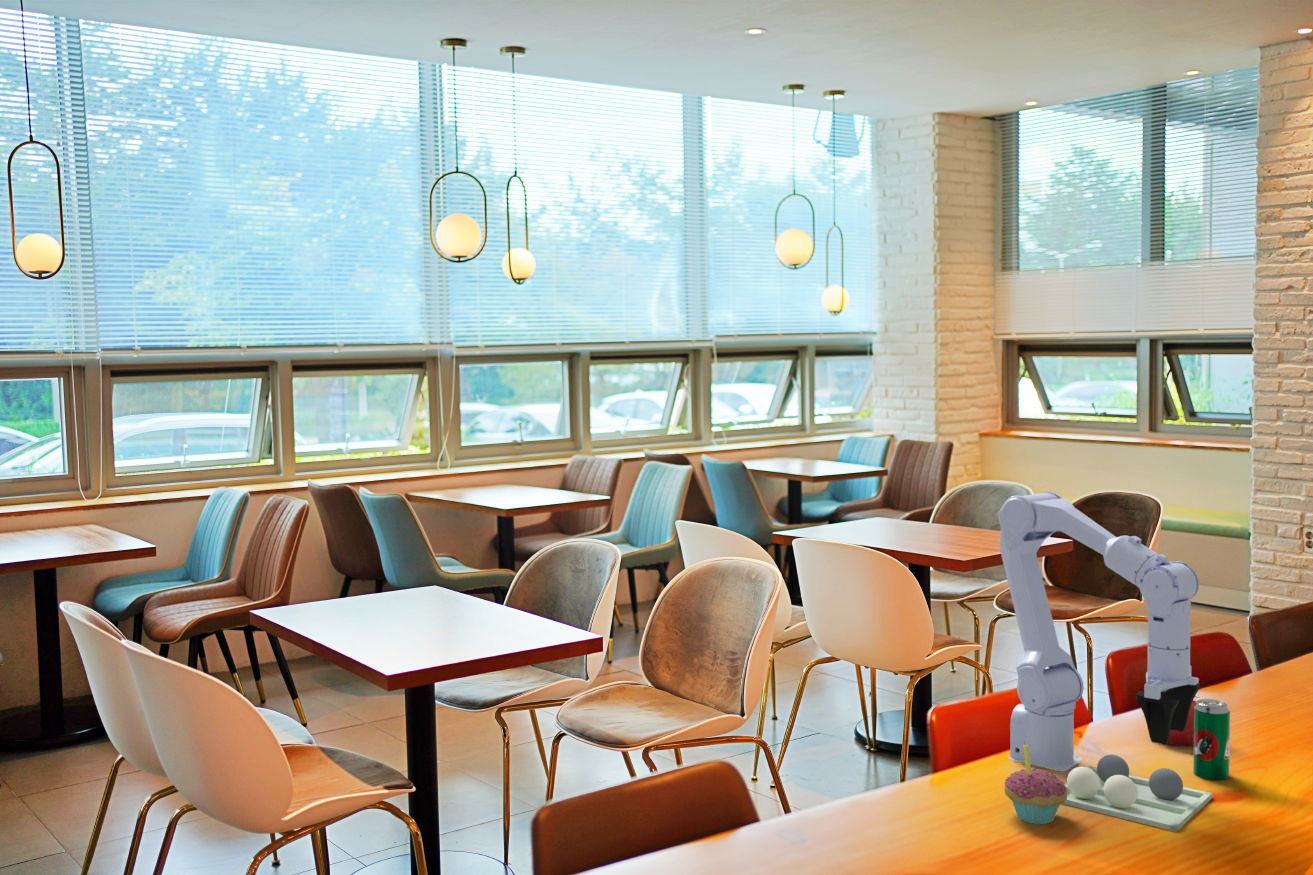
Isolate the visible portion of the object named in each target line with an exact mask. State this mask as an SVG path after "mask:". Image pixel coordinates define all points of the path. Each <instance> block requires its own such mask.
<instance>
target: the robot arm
mask: <svg viewBox="0 0 1313 875" xmlns="http://www.w3.org/2000/svg"><path fill="white" fill-rule="evenodd" d="M996 515H997V518H998V522H999V527H1000V538H999V550H1000V551H999V552H1000V554H1001V560H1002V563H1003V567H1004V571H1005V576H1006V579H1007V580H1006V581H1007V584H1008V587H1009V593H1010V598H1011V600H1012V605H1013V609H1014V613H1015V617H1016V622H1017V626H1018V629H1019V633H1020V638H1021V641H1022V642H1021V643H1022V646H1023V650H1024V653H1023V656H1022V657H1021V659H1020V660H1019V662H1018V663H1017V666H1016V672H1017V685H1016V691H1017V692H1016V693H1017V695H1018V698H1019V700H1020V702H1021V703H1018V704H1017V705H1016V706H1015V707H1014V708H1013V710H1012V714H1011V717H1010V725H1009V730H1010V735H1009V736H1010V740H1009V741H1010V742H1009V743H1010V749H1009V750H1010V752H1009V753H1010V754H1009V757H1008V758H1007V759H1008V760H1010V761H1015V762H1019V763H1024V764H1025V756H1024V748H1023V745H1024V740H1025V742H1026V745H1028V750H1029V758H1030V765H1032V766H1037V767H1041V768H1046V769H1050V770H1054V771H1059V772H1066V771H1068V770H1070V769H1071V768H1072V767H1074V766H1075V765H1077V764H1078V763H1080V762H1081V761H1082V760H1083V759H1084V758H1082V757H1080V756H1075V755H1074V754H1075V753H1074V750H1075V749H1074V748H1075V747H1074V744H1075V743H1074V741H1075V740H1074V738H1075V736H1074V735H1075V734H1074V733H1075V732H1074V730H1075V728H1074V726H1075V724H1074V722H1075V721H1074V720H1075V719H1074V718H1075V716H1074V713H1075V712H1074V711H1075V709H1076V707H1077V706H1076V705H1077V704H1076V702H1078V701H1079V699H1081V697H1082V696H1083V694H1084V681H1083V678H1082V676H1081V674H1080V673H1079V671H1078V670H1077V669H1076V667H1075V664H1074V660H1073V657H1072V656H1071V655H1070V654H1069V653H1068V652H1066V651H1065V650H1064V649H1063V648H1061V647H1060V645H1059V641H1058V636H1057V632H1056V627H1055V625H1054V624H1055V623H1054V620H1053V616H1052V612H1051V608H1050V604H1049V599H1048V595H1047V592H1046V589H1045V583H1044V580H1043V576H1042V572H1041V566H1040V563H1039V560H1038V555H1037V552H1038V551H1039V549H1040V547H1041V546H1042V544H1044V541H1045V540H1046V539H1048V538H1049V537H1050V536H1051V535H1053V534H1054V533H1056V532H1061V533H1063V534H1065V535H1067V536H1069V537H1070V538H1072V539H1074V540H1076V541H1078V542H1079V543H1081V544H1083V545H1084V546H1087V547H1088V548H1090V549H1092V550H1094V551H1095V552H1097V553H1099V554H1101V555H1102V556H1103V563H1104V564H1105V567H1107V568H1108V569H1110V570H1112V571H1113V572H1114V573H1116V574H1118V575H1120V576H1121V577H1123V578H1124V580H1127V582H1130V583H1131V584H1133V585H1134V586H1136V587H1137V588H1139V592H1140V594H1141V596H1142V598H1143V599H1144V600H1145V603H1146V612H1147V671H1146V673H1145V682H1146V683H1144V688H1143V690H1144V691H1141V690H1140V691H1138V692H1136V694H1135V700H1136V702H1137V704H1138V705H1139V707H1140V709H1141V711H1142V713H1143V716H1144V719H1145V723H1146V727H1147V731H1148V735H1149V739H1150V741H1151V743H1155V744H1160V745H1167V744H1168V743H1167V742H1168V739H1169V735H1170V729H1171V730H1177V731H1182V732H1183V731H1184V730H1185V727H1186V724H1187V719H1188V715H1189V711H1190V707H1191V704H1192V702H1193V700H1195V698H1196V697H1195V696H1196V695H1197V693H1198V692H1199V690H1200V688H1201V684H1200V683H1199V681H1200V679H1199V678H1198V677H1195V676H1192V665H1191V624H1192V623H1191V622H1192V621H1191V619H1192V618H1191V617H1192V616H1191V614H1192V613H1191V612H1192V611H1191V610H1192V609H1191V608H1192V605H1191V604H1192V601H1191V600H1192V599H1193V598H1194V597H1195V596H1196V595H1197V593H1198V592H1199V589H1200V588H1199V587H1200V581H1199V577H1198V574H1197V573H1196V571H1195V570H1194V569H1193V568H1192V567H1191V566H1190V565H1189V564H1188V563H1187V562H1185V561H1180V560H1179V561H1177V560H1176V561H1169V559H1168V558H1169V557H1168V556H1166V555H1165V554H1163V553H1161V554H1158V553H1157V552H1155V551H1154V550H1152V549H1151V548H1149V547H1148V546H1146V545H1144V544H1143V543H1142V539H1141V538H1140V537H1138V536H1137V535H1131V536H1130V535H1124V534H1123V535H1120V536H1115V535H1114V534H1113V533H1112V532H1110V531H1108V530H1107V529H1106V528H1104V527H1103V526H1101V525H1100V524H1099V523H1098V522H1096V521H1094V520H1093V519H1092V518H1090V517H1088V516H1087V515H1086V514H1084V513H1083V512H1082V511H1080V510H1079V509H1078V508H1076V507H1075V506H1074V505H1073V503H1072V502H1071V500H1069V499H1067V498H1066V497H1065V498H1064V497H1062V496H1061V495H1060V494H1059V493H1056V492H1053V491H1046V492H1043V493H1034V494H1026V495H1012V496H1010V497H1008V498H1007V499H1006V500H1005V501H1004V503H1003V504H1002V505H1001V507H1000V509H999V510H998V512H997V514H996Z"/></svg>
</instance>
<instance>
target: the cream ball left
mask: <svg viewBox="0 0 1313 875" xmlns="http://www.w3.org/2000/svg"><path fill="white" fill-rule="evenodd" d="M1066 783H1067V785H1068V788H1069V790H1070V791H1071V793H1072V794H1073V795H1075V796H1076V797H1078V798H1081V799H1089V798H1092V797H1094V796H1095V795H1096V794H1097V793H1098V791H1099V789H1100V780H1099V778H1098V776H1097V774H1096V773H1095V772H1094V771H1093V770H1091V769H1090V768H1089V767H1087V766H1077V767H1074V768H1073V769H1071V771H1070V772H1068V775H1067V778H1066Z"/></svg>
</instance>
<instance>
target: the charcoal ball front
mask: <svg viewBox="0 0 1313 875" xmlns="http://www.w3.org/2000/svg"><path fill="white" fill-rule="evenodd" d="M1148 779H1149V787H1150V789H1151V791H1152V793H1153V794H1154V795H1155V796H1156V797H1158V798H1159V799H1164V800H1168V801H1171V800H1174V799H1176V798H1178V797H1179V796H1180V795H1181V793H1182V791H1183V787H1184V782H1183V780H1182V777H1181V776H1180V775H1179V774H1178V773H1177V772H1176V771H1175V770H1174V769H1171V768H1168V767H1167V768H1166V767H1161V768H1158V769H1156V770H1155V769H1154V771H1153V772H1152V773H1151V774H1150V776H1149V778H1148Z"/></svg>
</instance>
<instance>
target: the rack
mask: <svg viewBox="0 0 1313 875" xmlns="http://www.w3.org/2000/svg"><path fill="white" fill-rule="evenodd" d="M1088 768H1090V769H1091V770H1093V771H1094V772H1095V773H1096V774H1097V776H1098V773H1097V766H1096V767H1095V766H1088ZM1098 778H1099V780H1100V789H1099V791H1098V793H1097V794H1096V795H1095V796H1094V797H1092V798H1089V799H1081V798H1078V797H1076V796H1075V795H1073V794H1072V793H1071V791H1070V790H1069V788H1068V785H1067V782H1066V783H1064V785H1065V786H1066V792H1067V799H1066V800H1065V802H1064V803H1062V804H1061V805H1065V806H1071V807H1075V808H1078V809H1082V810H1086V811H1090V812H1094V813H1099V814H1102V815H1106V816H1110V817H1114V818H1118V819H1123V820H1127V821H1132V822H1135V823H1139V824H1143V825H1148V826H1151V827H1155V828H1159V829H1163V830H1166V831H1171V832H1174V833H1175V832H1178V831H1179V830H1180V829H1181V828H1182V827H1183V826H1184V825H1185V824H1187V822H1189V821H1190V820H1191V819H1192V817H1194V816H1195V815H1196V814H1197V813H1198V812H1199V811H1201V809H1202V808H1203V807H1204V806H1206V805H1207V804H1208V803H1209V802H1210V801H1211V800H1212V799H1213V793H1212V792H1209V791H1203V790H1199V789H1195V788H1190V787H1186V786H1183V791H1182V793H1181V795H1180V796H1179V797H1178V798H1176V799H1174V800H1171V801H1168V800H1164V799H1159V798H1158V797H1156V796H1155V795H1154V794H1153V793H1152V791H1151V789H1150V787H1149V778H1146V777H1140V776H1135V775H1131V774H1129V777H1128V778H1130V779H1131V780H1132V781H1133V782H1134V784H1135V785H1136V788H1137V792H1138V795H1137V799H1136V801H1135V802H1134V804H1132V805H1131V806H1129V807H1127V808H1118V807H1115V806H1113V805H1112V804H1110V803H1109V802H1108V801H1107V799H1106V798H1105V795H1104V791H1103V788H1104V784H1105V783H1104V782H1103V781H1102V780H1101V779H1100V777H1099V776H1098Z"/></svg>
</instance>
